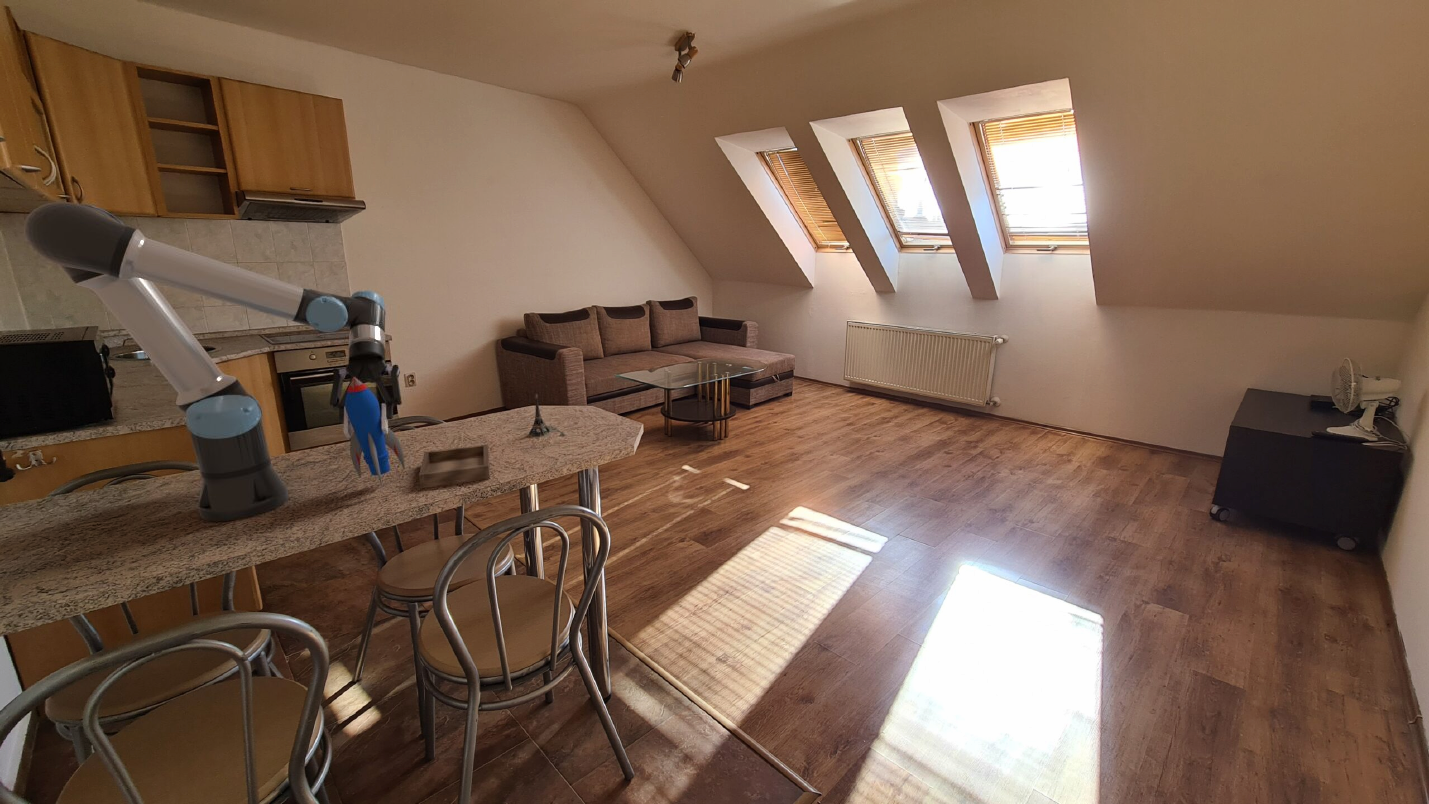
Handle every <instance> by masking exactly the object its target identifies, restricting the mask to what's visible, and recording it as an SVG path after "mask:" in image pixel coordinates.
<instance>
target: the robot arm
mask: <svg viewBox="0 0 1429 804" xmlns="http://www.w3.org/2000/svg"><path fill="white" fill-rule="evenodd" d="M23 230H24V236H25V238H26V240H27V242H28V245H30V247H31V248H32V249H33V250H34V251H35V252H36V253H37V254H39V255H40V256H41V257H42V258H44V259H46V260H48V261H50V262H52V263H54V264H56V265H59V266H60V267H61V269H63V271H64V272H65V273H66V274H67V276H68V277H69V278H70V279H71V280H72V281H73V282H74V284H75V285H76V286H79V287H83V288H86V289H90V290H92V291H93V292H94V293H95V294H96V295H97V297H98V298H99V299H100V301H102V302H103V304H104V305H105V306H106V308H108V310H109V311H110V312H111V314H112V315H113V316H114V317H115V319H117V321H118V322H119V324H121V326H122V327H123V329H125V330H126V332H127V333H128V334H129V335H130V336H131V338H132V339H133V340H134V341H135V343H136V344H137V345H138V346H139V348H140V349H141V350H142V351H143V352H144V353H145V354H146V357H148V358H149V359H150V361H151V362H152V363H153V364H154V365H155V367H156V369H158V370H159V372H160V373H161V374H162V375H163V377H164V378H165V379H166V380H167V382H168V383H170V385H171V386H172V387H173V389H174V390H175V391H176V392H177V393H178V395H177V397H176V401H175V404H176V405H177V407H178V408H179V409H180V411H181V412H182V413H183V414H184V415H185V425H186V427H187V429H188V431H189V434H190V438H191V441H192V442H191V443H192V445H193V449H194V453H195V456H196V457H195V458H196V461H197V465H198V469H199V471H200V476H201V480H202V481H201V487H200V492H199V498H198V504H197V505H198V512H199V515H200V518H201V519H202V520H204V521H207V522H230V521H237V520H241V519H247V518H251V517H255V516H258V515H261V514H265V513H268V512H269V511H272V510H274V509H277V508H279V506H282V505H283V504H284V503H286V502H287V501H288V499H289V490H288V487H287V485H286V483H285V482H284V481H283V479H282V478H281V477H280V476H279V474H278V472H277V471H276V469H275V468H274V466H273V465H272V462H271V457H270V452H269V447H268V443H267V440H266V439H267V438H266V435H265V431H264V430H265V429H264V425H263V410H262V406H261V405H260V403H259V401H258V400H257V399H256V397H254V396H253V395H252V394H251V393H248V391H247V390H246V388H245V387H244V386H243V385H242V384H241V382H240V381H239V380H238V378H237V377H236V376H233V375H230V374H225V373H223V372H222V370H221V369H220V368H219V367H218V365H217V364H216V363H215V361H214V360H213V359H212V357H211V356H210V355H209V354H208V352H207V351H206V350H205V348H204V347H203V346H202V345H201V343H200V341H198V339H197V338H196V337H195V335H194V334H193V333H192V331H191V330H190V329H189V328H188V326H187V325H186V324H185V323H184V321H183V320H182V319H181V318H180V316H179V314H178V313H177V312H176V311H175V309H174V308H173V307H172V306H171V304H170V303H169V302H168V300H167V299H166V297H164V295H163V294H162V292H161V291H160V290H159V288H158V287H157V286H156V285H155V284H159V285H162V286H166V287H170V288H173V289H174V288H175V289H177V290H182V291H183V292H184V291H185V292H188V293H192V294H195V295H198V296H203V297H204V298H205V297H206V298H209V299H213V300H216V301H220V302H223V303H228V304H231V305H234V306H238V307H242V308H244V309H249V310H253V311H256V312H259V313H262V314H267V315H270V316H273V317H278V318H281V319H283V320H287V321H291V322H294V323H297V324H301V325H304V326H308V327H311V328H314V329H315V330H316V331H319V332H324V333H333V332H338V331H339V330H341V329H342V328H344V329H349V337H348V347H349V348H348V362H347V365H346V366H345V368H341V369H339V368H337V367H336V368H335V367H334V368H332V370H331V371H332V374H333V382H332V387H331V392H330V393H331V394H330V398H329V406H330V407H331V409H332V410H333V411H338V420H339V422H340V423H341V424H343V434H344V435H345V437H346V438H347V439H350V438H351V437H352V424H351V422H350V420H349V417H348V415H347V412H346V409H345V400H346V396H347V393H348V392H347V390H348V388H349V386H350V384H351V381H352V379H353V377H355V378H357V379H358V380H359V381H360V382H362V383H363V384H364V385H365V384H368V383H369V384H376V386H377V388H378V390H379V392H380V394H381V397H382V399H383V400H384V402H385V403H381V421H382V430H383V433H384V434H388V428H389V420H393V418H394V407H395V406H401V405H402V403H403V401H402V395H401V388H400V383H399V382H400V381H399V376H400V373H401V370H400V367H399V365H398V364H394V365H388V364H387V363H386V314H387V313H386V312H387V311H386V307H385V306H386V305H385V301H384V299H383V297H382V296H381V295H380V294H378V293H376V292H374V291H371V290H365V291H363V290H359V291H356V292H353V293H352V295H351V296H343V295H339V294H335V293H329V292H324V291H319V290H315V289H312V288H304V287H301V286H299V285H296V284H293V283H292V284H291V283H290V282H286V281H283V280H279V279H277V278H273V277H270V276H267V275H264V274H261V273H257V272H255V271H252V270H251V271H250V270H247V269H245V268H242V267H239V266H236V265H233V264H229V263H226V262H222V261H221V260H216V259H213V258H210V257H207V256H204V255H201V254H197V253H194V252H192V251H190V250H189V251H188V250H185V249H182V248H179V247H176V246H172V245H170V244H166V243H164V242H160V241H157V240H154V239H150V238H147V237H146V236H145V235H144V233H142V231H141V230H140V229H138V228H135V227H131V226H128V225H125V224H124V223H123V222H122V221H121V220H119V219H118V218H117V217H115V215H113V214H112V213H110V212H108V211H107V210H106V209H105V210H104V209H102V208H101V207H97V206H94V205H91V204H86V203H76V202H72V201H71V202H68V201H55V202H49V203H45V204H42V205H40V206H38V207H37V208H34V209H33V210H32V211H31V212H29V214H28V215H27V217H26V219H25V221H24V227H23ZM387 372H388V375H389V376H390V379H391V386H392V394H393V398H391V397H390V395H389V393H388V391H387V389H386V386H385V385H384V382H383V380H382V377H383V376H384V375H385V374H386V373H387ZM346 375H349V376H350V380H349V383H348V385H347V387H346V389H345V391H344V394H342V391H343V384H344V382H343V380H345V378H346ZM341 396H342V398H341Z"/></svg>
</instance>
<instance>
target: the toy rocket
mask: <svg viewBox="0 0 1429 804" xmlns="http://www.w3.org/2000/svg"><path fill="white" fill-rule="evenodd" d="M347 392H348V393H347V396H346V400H345V409H346V412H347V415H348V417H349V420H350V422H351V428H353V431H354V432H353V433H352V434H351V439H350V440H349V441H350V443H349V454H350V458H351V462H352V465H353V467H354V469H355V472H356V474H357V476H358V477H359V478H361V479H362V474H361V473H362V472H361V459H362V458H363V460H364V461H365V465H367V466H368V468H369V471H370V472H369V473H370V475H372V476H375V477H376V476H377V477H378V479H379V481H380V484H381V488H384V485H383V480H382V475H385V474H387V473H389V472H390V471H391V466H390V462H389V459H390V456H389V454H390V452H389V450H388V449H387V447H388V448H390V449H391V450H392V451H393V453H394V454H395V455H396V457H397V458H398V461H399V462H400V465H401V466H402V468H403V469H405V467H406V466H405V456H404V451H403V447H402V445H401V442H400V440H399V438H398V437H397V435H396V434H395V433H394V431H393V430H391V428H389V427H388V434H384V433H383V430H382V413H381V409H380V403H379V401H378V399H377V397H376V396H375V394H374V393H373V392H372V391H371V389H369V388H368V386H367V385H365V383H364V384H363V383H362V382H360V381H359V380H358V379H357V378H355V377H353V379H352V381H351V384H350V386H349V388H348V390H347ZM362 454H363V457H362Z"/></svg>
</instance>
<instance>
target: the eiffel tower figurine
mask: <svg viewBox="0 0 1429 804" xmlns="http://www.w3.org/2000/svg"><path fill="white" fill-rule="evenodd" d="M534 397H535V398H534V399H535V414H534V415H535V416H534V421H533V424H532V425H531V426H532V427H531V429H530V430H529V433H528V434H527V436H528V437H531V436H532V437H546V436H547V435H548V434H550V432H556V433H557V432H558V433H560V434H559V436H558V437H567V434H565V433H563V432H562V431H560V429H557V428H556V427H554V426H552V425H546V422H544V420H543V417H542V414H541V412H540V406H539V400H538V394H535V395H534ZM525 429H528V427H522V428H517V430H516V431H522V430H525Z"/></svg>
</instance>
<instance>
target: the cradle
mask: <svg viewBox="0 0 1429 804" xmlns="http://www.w3.org/2000/svg"><path fill="white" fill-rule="evenodd" d="M490 472H491V471H490V455H489V446H488V443H486V444H479V445H471V446H464V447H462V446H461V447H454V448H446V449H437V450H429V451H424V453H423V457H422V461H421V465H420V470H419V473H418V477H419V484H420V489H427V488H433V487H434V488H435V487H440V486H447V485H453V484H454V485H455V484H462V482H463V483H468V482H469V483H470V482H475V481H483V480H489V479H491V475H490V474H491V473H490Z"/></svg>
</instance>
